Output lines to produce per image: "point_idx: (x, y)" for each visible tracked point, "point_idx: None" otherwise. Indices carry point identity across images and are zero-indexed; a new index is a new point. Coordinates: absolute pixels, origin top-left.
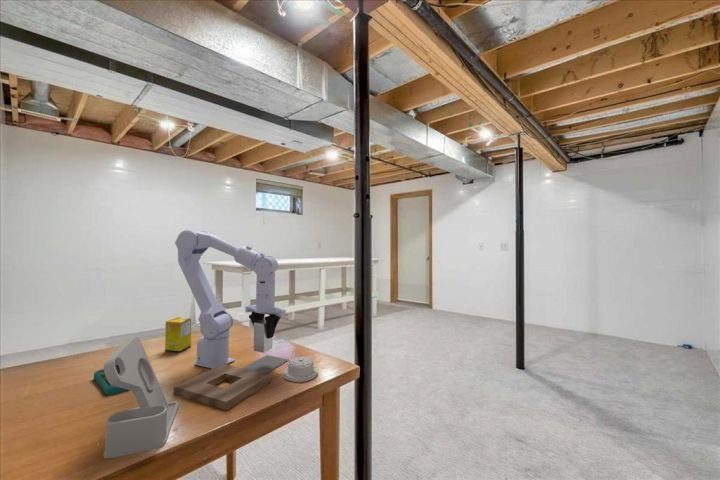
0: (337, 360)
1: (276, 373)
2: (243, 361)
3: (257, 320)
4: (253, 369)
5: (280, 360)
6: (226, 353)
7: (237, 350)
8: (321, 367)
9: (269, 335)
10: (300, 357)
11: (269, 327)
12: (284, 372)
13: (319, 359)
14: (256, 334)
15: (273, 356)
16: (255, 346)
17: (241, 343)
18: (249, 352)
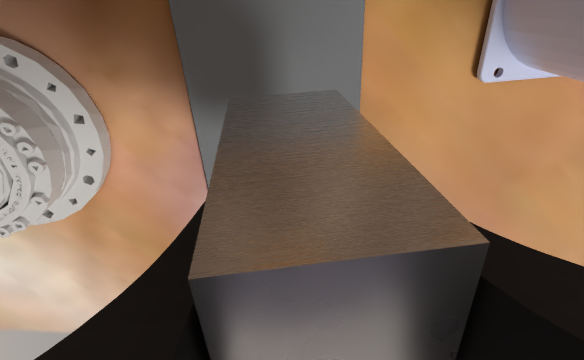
0: (29, 327)
1: (132, 74)
2: (424, 101)
3: (478, 337)
4: (284, 34)
5: None
6: (550, 16)
7: (538, 185)
8: (11, 247)
9: (198, 216)
10: (10, 211)
11: (141, 282)
12: (41, 71)
13: (104, 298)
14: (343, 145)
15: None
16: (325, 100)
17: (561, 247)
18: (464, 198)
